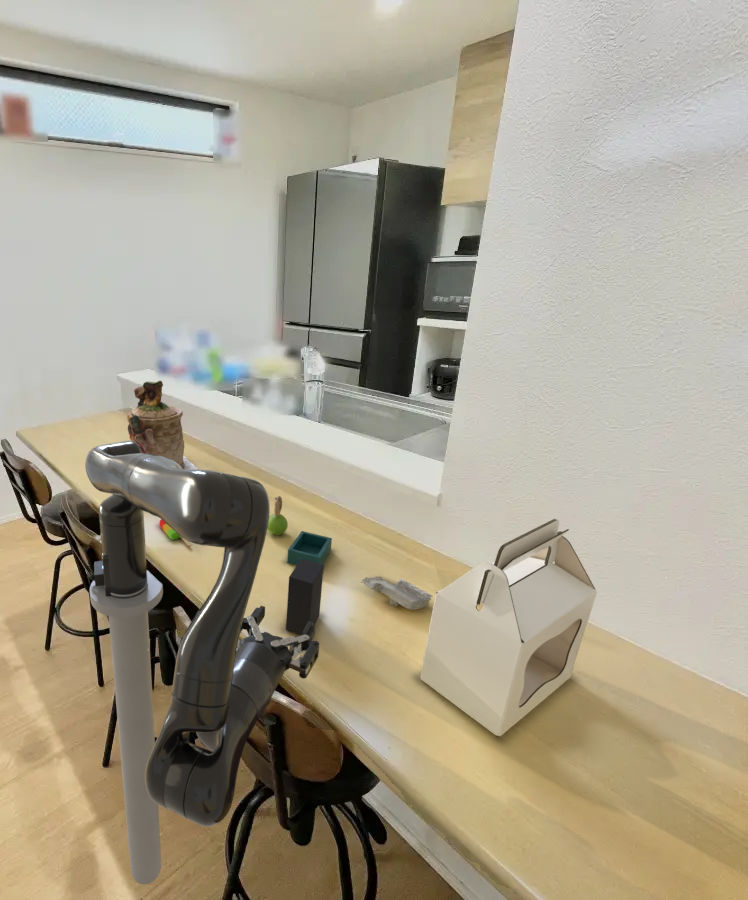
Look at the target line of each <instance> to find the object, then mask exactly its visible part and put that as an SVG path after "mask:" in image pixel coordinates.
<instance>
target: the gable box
mask: <svg viewBox="0 0 748 900" xmlns="http://www.w3.org/2000/svg"><path fill="white" fill-rule="evenodd" d="M559 525H560V520H559V519H556V518H553V519H551V520H549V521H547V522H545V523H543V524H541V525H538V526H537V527H535V528H533V529H531V530H529V531H527V532H525V533H523V534H521V535H519V536H516V537H515V538H513V539H511V540H509V541H507V542H505V543H503V544H502V545H501V546H500V547H499V548H498V551H497V553H496V557H495V560H494V561H493V562H491V563H489V562H483V563H479V564H477V565H476V566H473V567H472V568H471V569H469V570H468V571H467V572H465V573H464V574H462V575H460V576H459V577H458V578H457V579H455V580H454V581H452V582H450V583H449V584H448V585H446V586H445V587H443V588H442V589H440V590H438V591H436V592H435V596H434V601H433V607H432V612H431V618H430V623H429V628H428V633H427V639H426V645H425V649H424V656H423V661H422V666H421V672H420V680H421V681H423V683H425V684H426V685H427V686H429V687H430V688H431V689H433V690H434V691H436V692H437V693H438V694H440V695H441V696H442V697H444V698H445V699H446V700H448V701H449V702H450V703H451V704H453V705H454V706H455V707H457V708H459V709H460V710H461V711H463V712H464V713H465V715H468V716H469V717H471V718H472V719H473V720H474V721H476V722H477V723H478V724H480V725H481V726H482V727H484V728H485V729H486V730H488V731H489V732H491V734H493V735H494V736H496V737H498V738H499V737H501V736H502V735H505V733H506V732H508V731H509V730H510V729H511V728H512V727H513V726H515V725H516V724H517V723H518V722H519V721H521V720H522V719H523V718H524V717H526V715H527V714H529V713H530V712H531V711H533V710H534V709H535V708H536V707H537V706H538V705H540V704H541V703H542V702H543V701H544V700H546V699H547V698H548V697H549V696H550V695H551V694H552V693H554V692H555V691H556V690H558V689H559V688H560V687H561V686H562V685H563V684H564V683H565V682H567V681H568V680H569V679H571V676H572V673H573V670H574V667H575V664H576V661H577V658H578V654H579V650H580V648H581V644H582V641H583V638H584V635H585V631H586V628H587V625H588V622H589V619H590V616H591V612H592V610H593V606H594V603H595V601H596V597H597V593H598V591H597V590H596V588H595V585H594V584H593V582H592V580H591V578H590V576H589V575H588V573H587V571H586V569H585V567H584V565H583V563H582V562H581V560H580V558H579V557H578V555H577V553H576V550H575V549H574V546H572V543H571V542H570V541H569V540H568V539H567V538H566V537H565V536H564V535H565V534H567V533H568V532H569V531H570V529H569V528H567V529H565V530H563V531H561V530H559V527H560V526H559ZM478 605H479V606H481V605H482V607H481V609H480V610H479V609H478Z"/></svg>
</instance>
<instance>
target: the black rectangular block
mask: <svg viewBox="0 0 748 900" xmlns="http://www.w3.org/2000/svg"><path fill="white" fill-rule="evenodd" d="M324 567H325V565H324V563H323V564H319V563H315V562H312V561H308V560H304V559H301V560H300V561H299V563H298V564H297V565H295V567H294V568H293V570H292V572H291V573H290V575H289V576H288V589H287V602H286V603H287V605H286V619H285V620H286V621H285V631H287V632H290V633H294V634H296V635H298V636H301V635H302V633H303V631H304V629H305V627H306V625H307V623H308V621H310V622H313V626H315V627H316V623H317V621H318V620H319V618H320V613H321V602H322V589H323V579H324V569H325V568H324Z"/></svg>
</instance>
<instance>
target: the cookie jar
mask: <svg viewBox="0 0 748 900" xmlns="http://www.w3.org/2000/svg"><path fill="white" fill-rule="evenodd" d="M163 387H164V383H163V381H162V380H157V381H145V382H143V384H142V385H141V386H137V387H135V388H134V390H133V393H134V396H135V398H136V399H138V400H139V401H138V402H137V406H136V407H134V408H133V409H132V411H128V413H127V416H126V418H127V422H128V425H127V432H128V435H129V441H134V442H136V443H137V444H138V445H139V447H140V449H141V451H142V453H150V454H156V455H159V456H163V457H167V458H169V459H171V460H173V461H175V462H176V463H178V464H179V465H180V466H181V468H182V469H193V470H200V469H199V468H198V467H197V466H196V465H195V464H194V463H192V462H191V461H190V460H189V459H188V458H187V456H185V455H184V453H185V441H184V435H183V433H184V432H183V427H182V416H183V415H184V412H183V410H182V409H181V408H179V407H176V406H171V405H168V404H167V403H165V402H162V396H163Z"/></svg>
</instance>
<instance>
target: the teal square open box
mask: <svg viewBox="0 0 748 900" xmlns="http://www.w3.org/2000/svg"><path fill="white" fill-rule="evenodd" d="M332 541H333V539H332V537H328V536H325V535H320V534H316V533H312V532H308V531H304V530H301V531H300V532H299V534H298V535H297V537H296V538H295V539H294V541H293V542H292V543H291V544H290V546H289V547H288V549H287V561H286V563H287V564H291V565H294V566H297V564H298V563H299V561H300V560H301V559H304V560H308V561H312V562H315V563H319V564H323V565H324V563H325V562H326V560H327V558H328V556H329V555H330V553H331V551H332Z"/></svg>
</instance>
